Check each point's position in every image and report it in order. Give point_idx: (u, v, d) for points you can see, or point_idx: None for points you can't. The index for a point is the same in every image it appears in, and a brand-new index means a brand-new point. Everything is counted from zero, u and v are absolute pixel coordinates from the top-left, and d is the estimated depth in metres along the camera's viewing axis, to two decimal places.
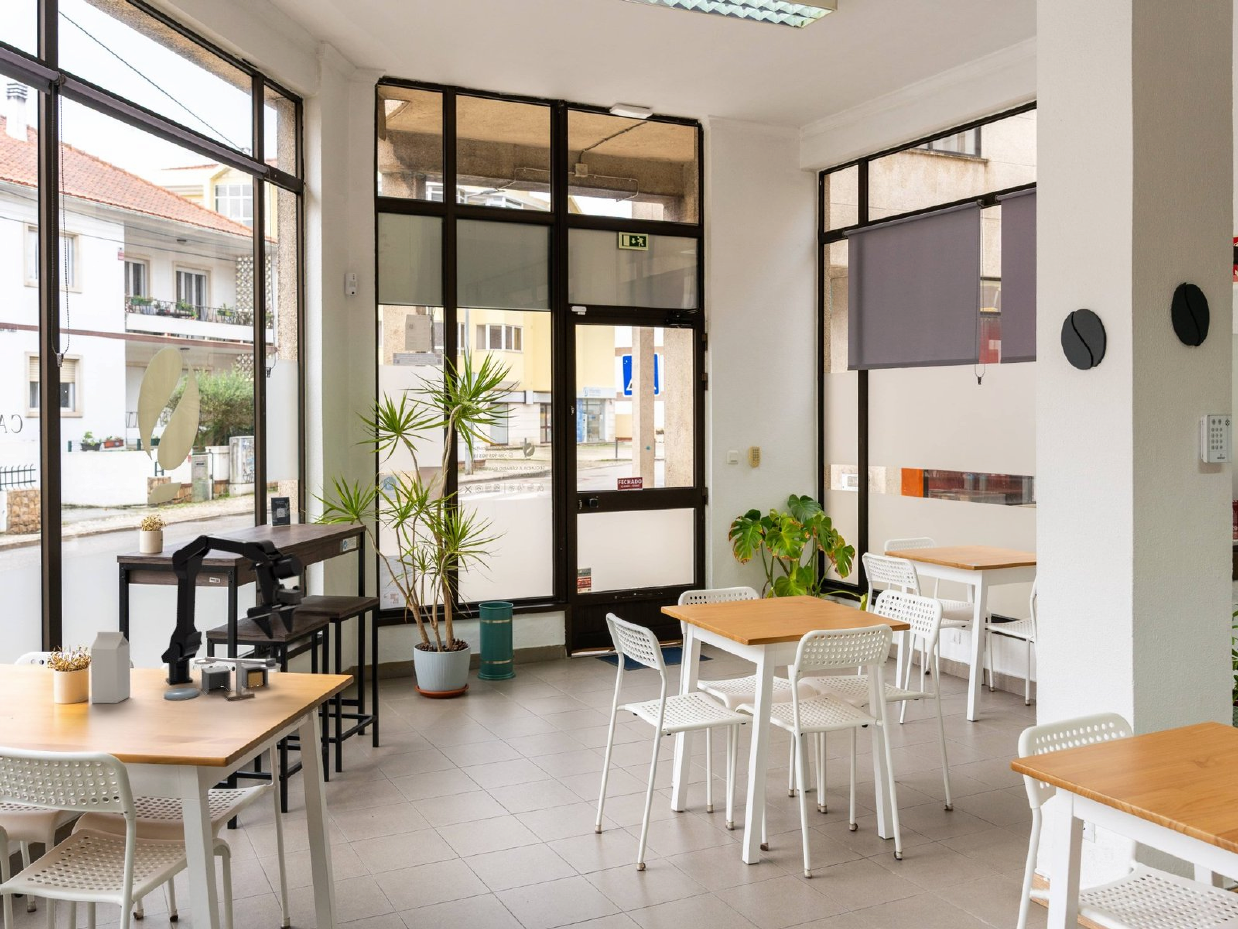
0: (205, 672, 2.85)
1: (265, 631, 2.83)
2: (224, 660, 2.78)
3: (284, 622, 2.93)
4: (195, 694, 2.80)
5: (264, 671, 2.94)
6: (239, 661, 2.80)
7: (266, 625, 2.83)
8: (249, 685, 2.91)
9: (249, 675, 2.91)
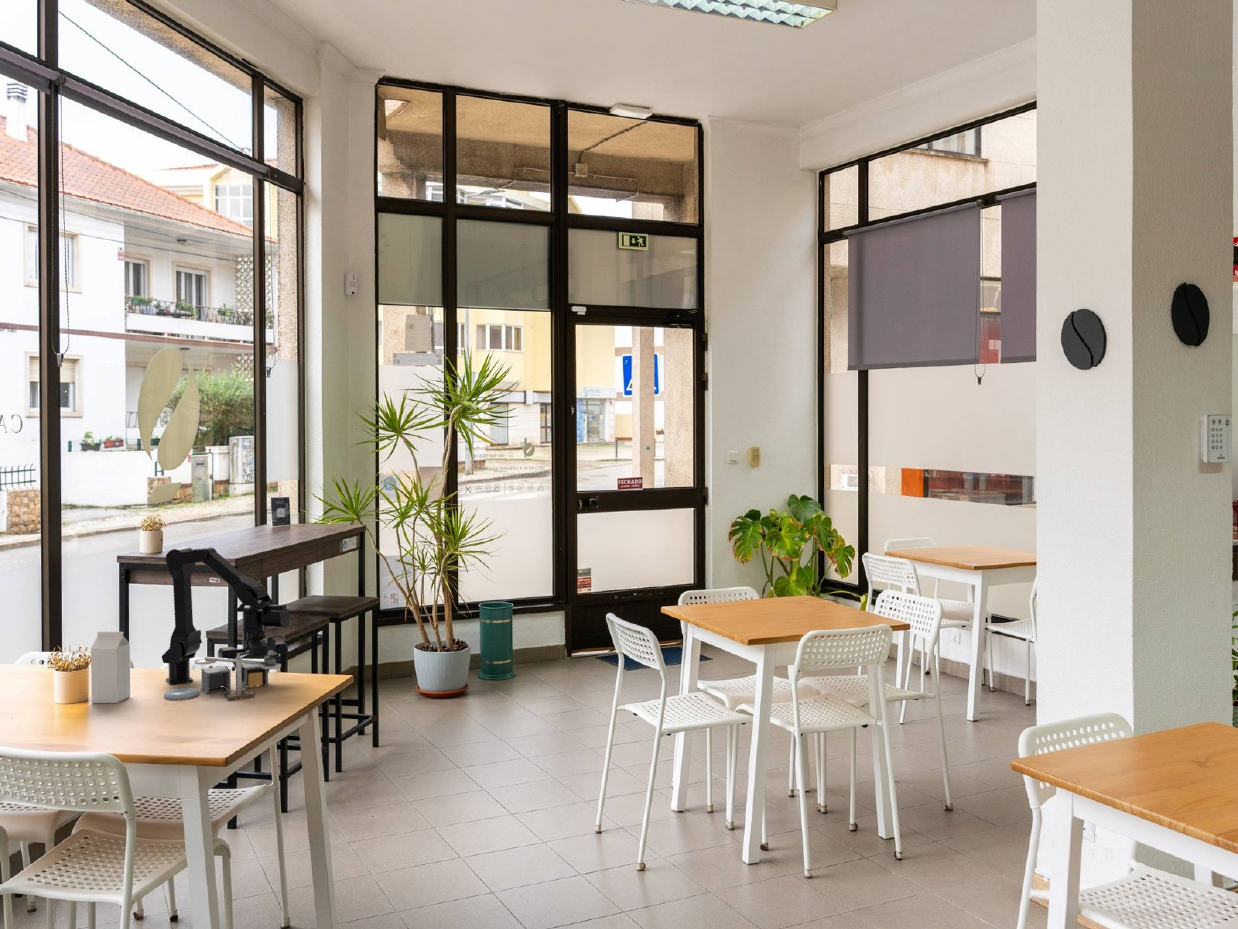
0: (205, 672, 2.85)
1: None
2: (224, 660, 2.78)
3: None
4: (195, 694, 2.80)
5: (264, 671, 2.94)
6: (239, 661, 2.80)
7: None
8: (249, 685, 2.91)
9: (249, 675, 2.91)
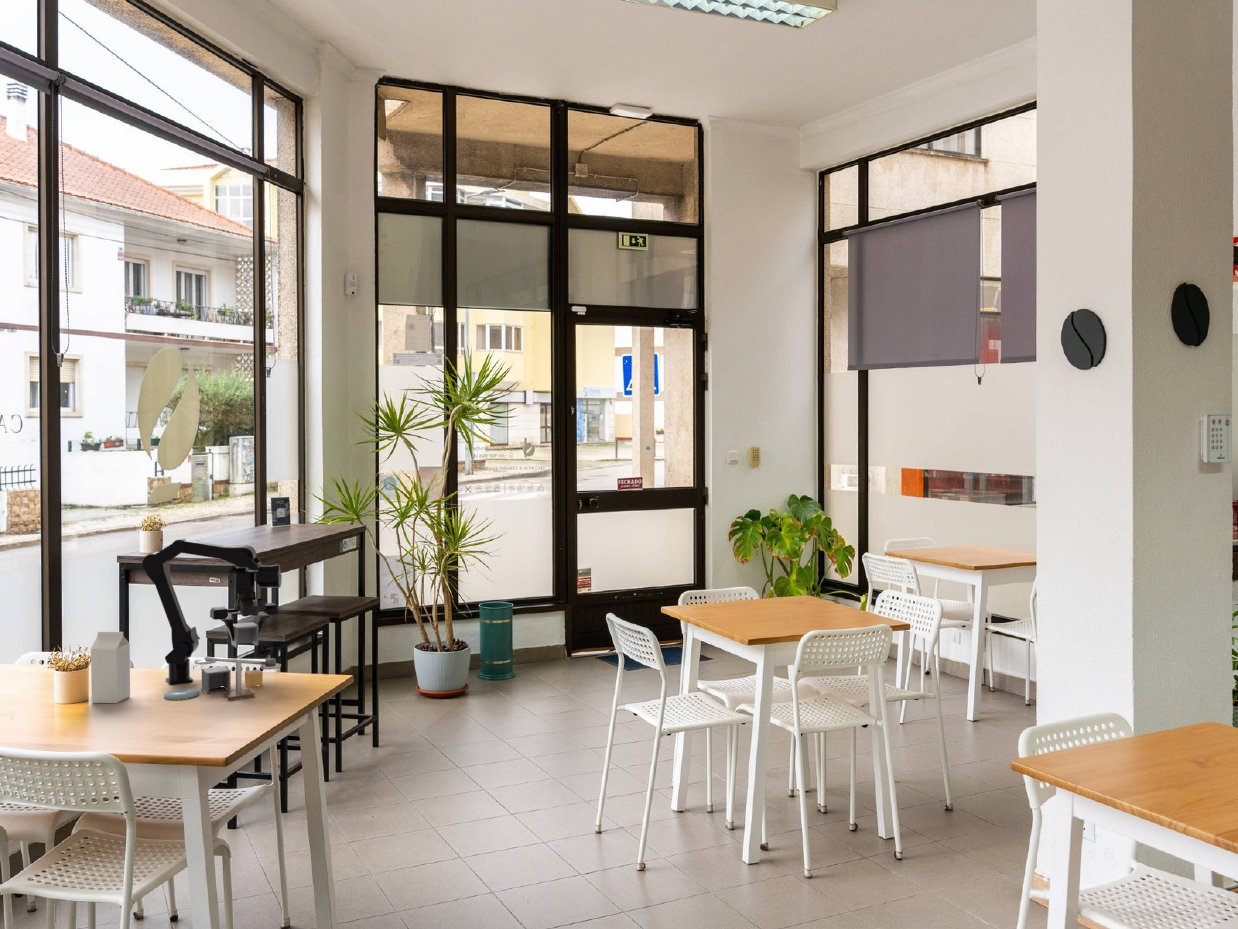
0: (205, 672, 2.85)
1: (229, 632, 2.99)
2: (224, 660, 2.78)
3: None
4: (195, 694, 2.80)
5: (255, 631, 3.01)
6: (239, 661, 2.80)
7: None
8: (249, 685, 2.91)
9: (249, 675, 2.91)
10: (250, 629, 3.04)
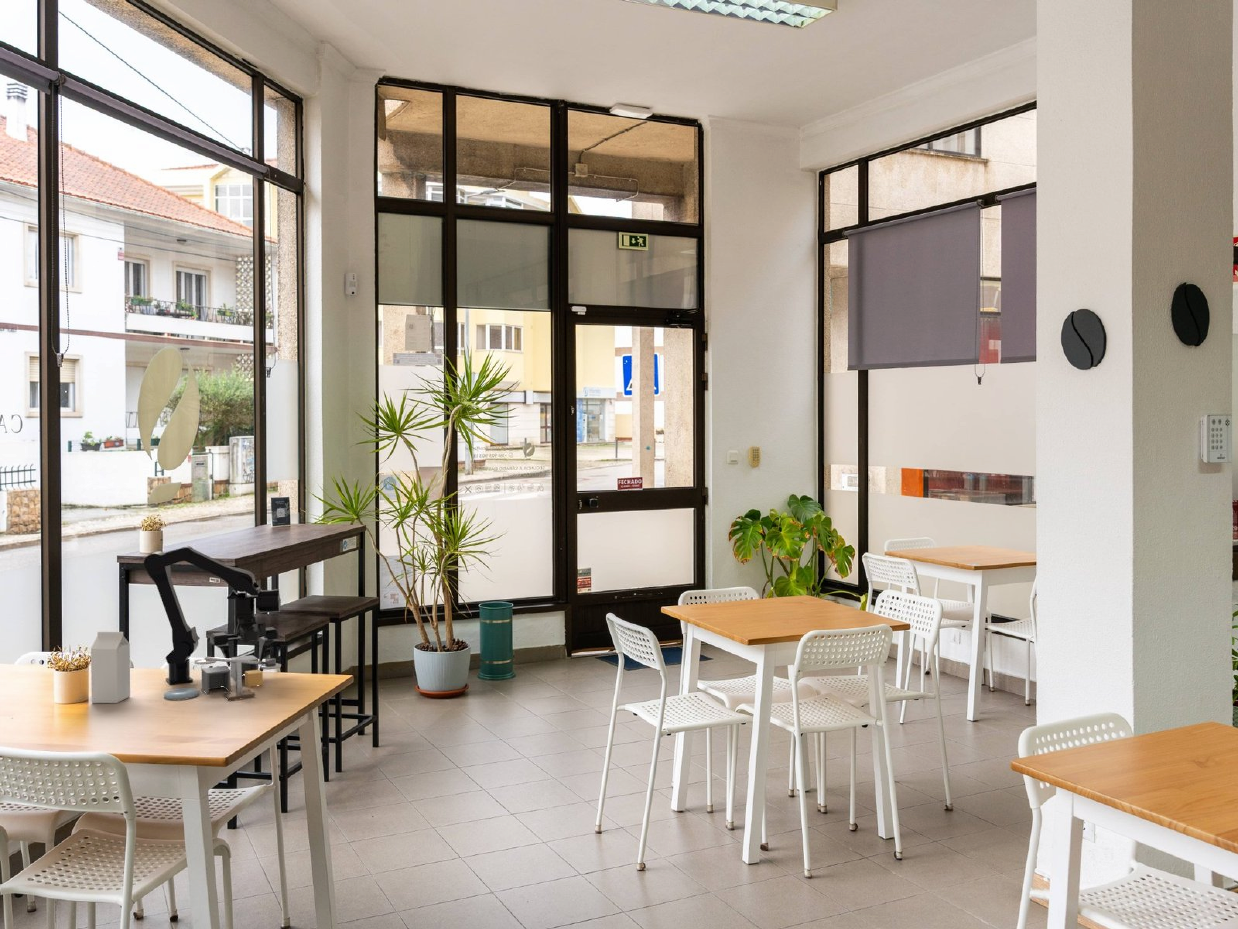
0: (205, 672, 2.85)
1: None
2: (224, 660, 2.78)
3: (259, 651, 3.05)
4: (195, 694, 2.80)
5: (255, 665, 3.02)
6: (239, 661, 2.80)
7: None
8: (249, 685, 2.91)
9: (249, 675, 2.91)
10: None
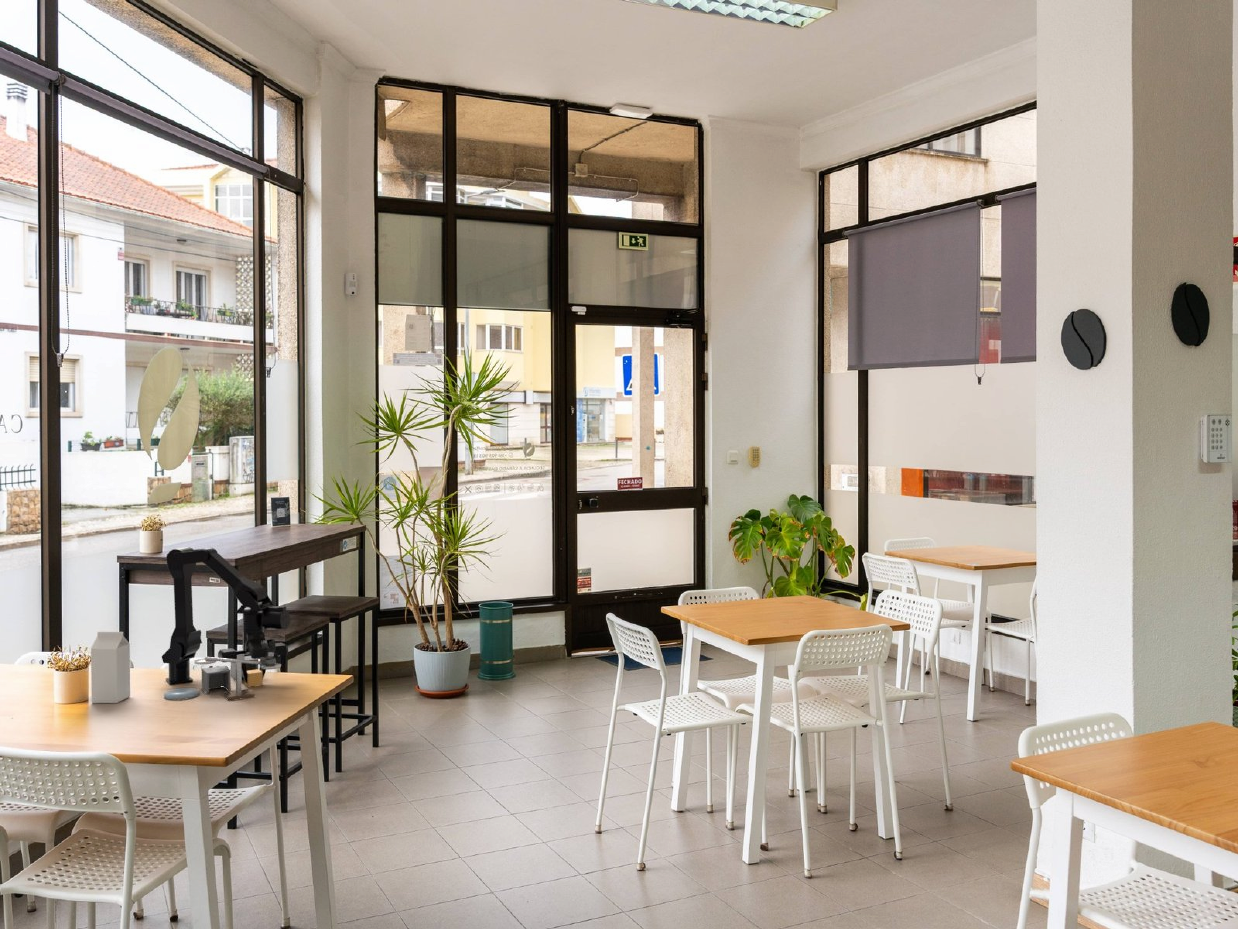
0: (205, 672, 2.85)
1: (242, 674, 2.92)
2: (224, 660, 2.78)
3: (260, 668, 2.96)
4: (195, 694, 2.80)
5: (255, 665, 3.02)
6: (239, 661, 2.80)
7: (242, 669, 2.92)
8: (249, 685, 2.91)
9: (249, 675, 2.91)
10: None
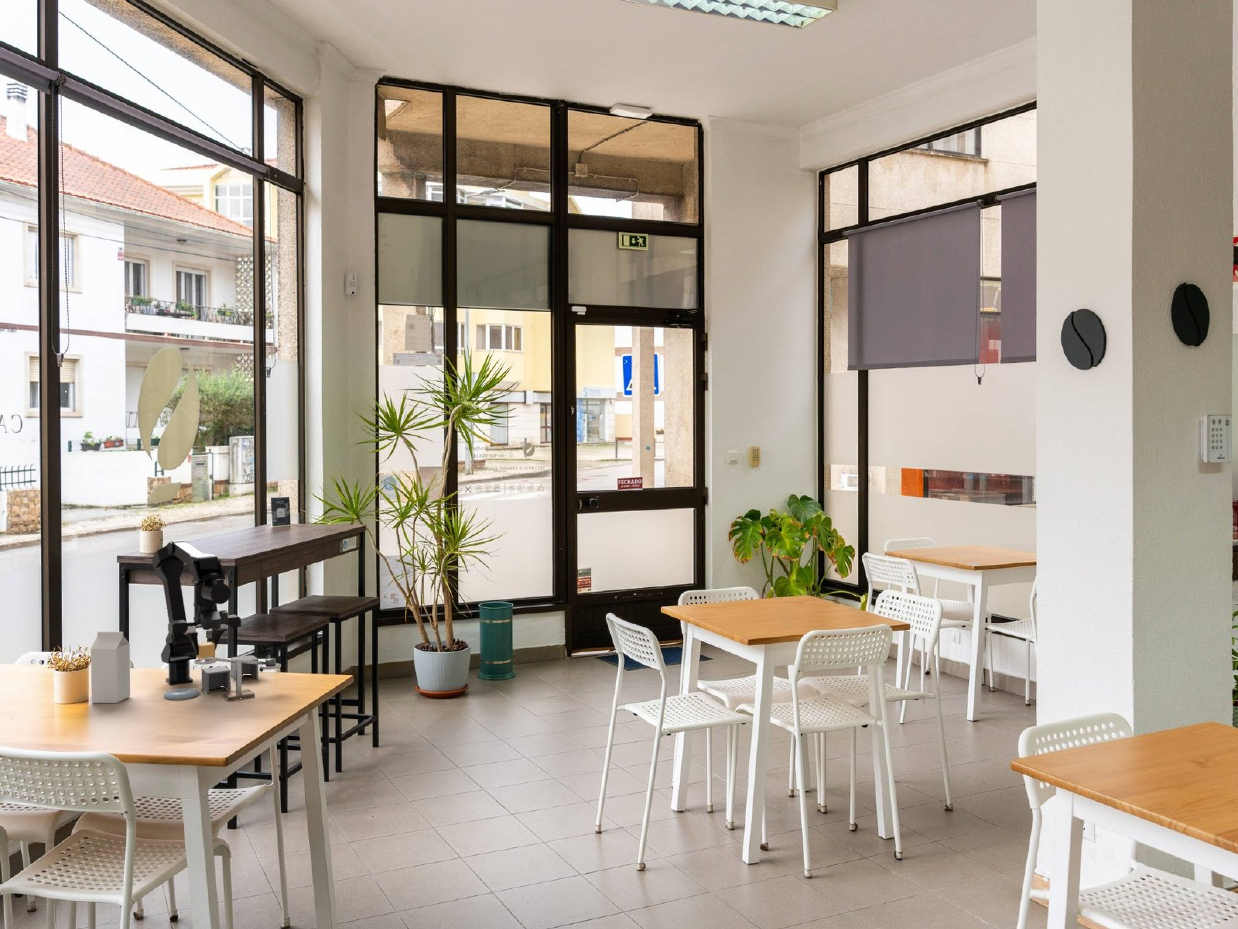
0: (205, 672, 2.85)
1: (193, 646, 2.84)
2: (224, 660, 2.78)
3: (212, 640, 2.87)
4: (195, 694, 2.80)
5: (255, 665, 3.02)
6: (239, 661, 2.80)
7: (193, 641, 2.83)
8: (201, 657, 2.82)
9: (201, 647, 2.82)
10: None
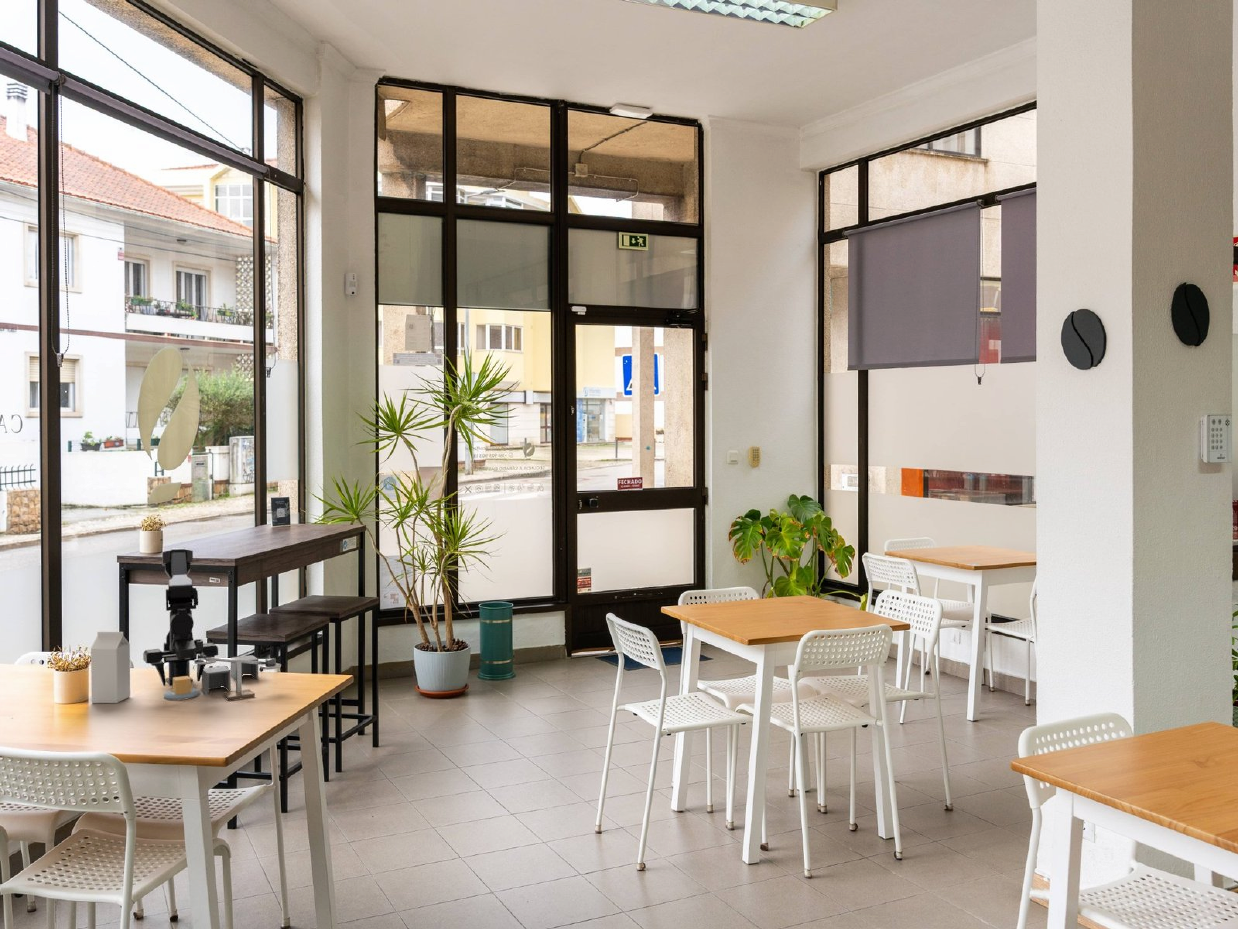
0: (205, 672, 2.85)
1: (160, 676, 2.79)
2: (224, 660, 2.78)
3: (197, 668, 2.85)
4: (195, 694, 2.80)
5: (255, 665, 3.02)
6: (239, 661, 2.80)
7: None
8: (176, 692, 2.79)
9: (176, 681, 2.79)
10: None
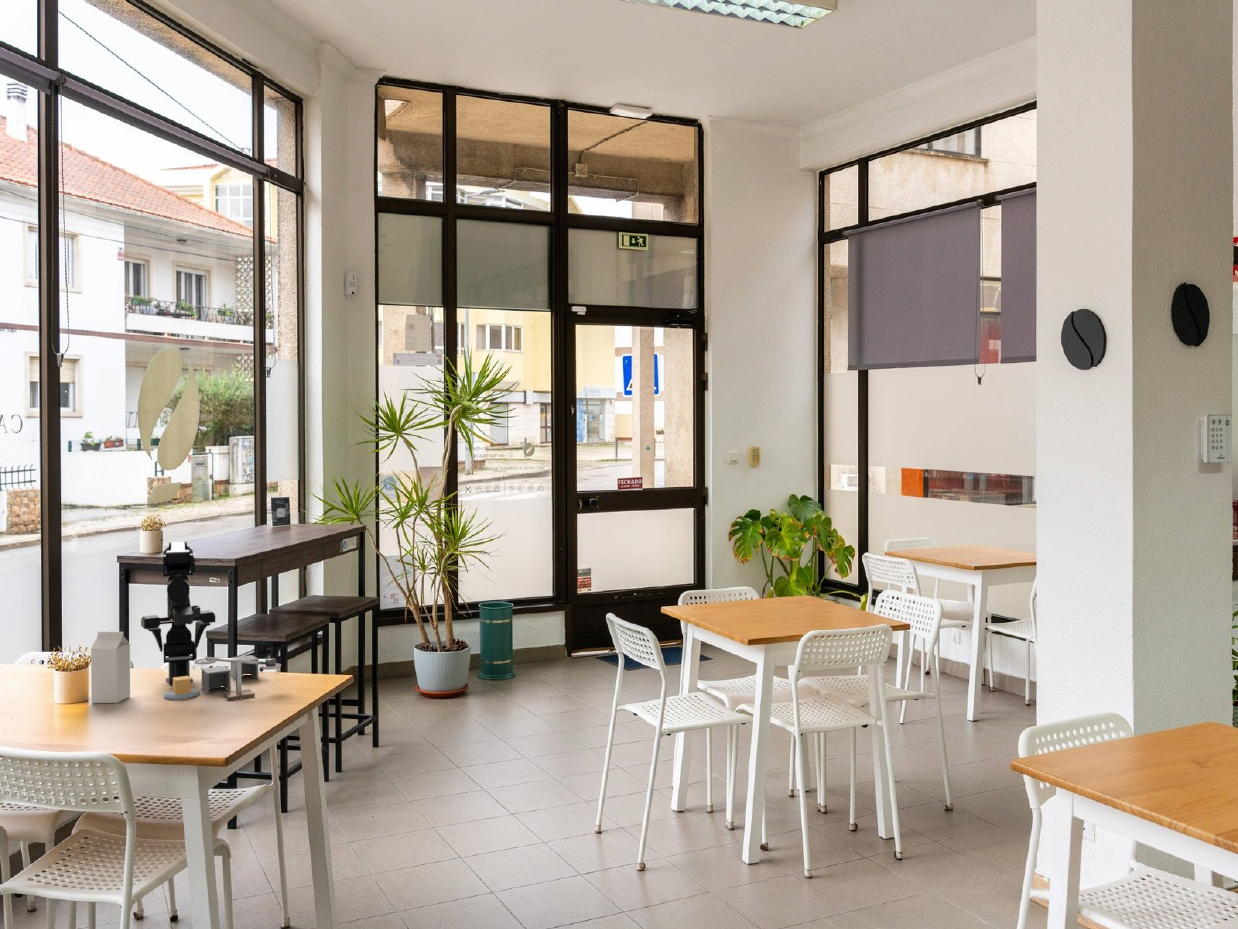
0: (205, 672, 2.85)
1: (157, 642, 2.81)
2: (224, 660, 2.78)
3: (195, 635, 2.87)
4: (195, 694, 2.80)
5: (255, 665, 3.02)
6: (239, 661, 2.80)
7: None
8: (176, 692, 2.79)
9: (176, 681, 2.79)
10: None
